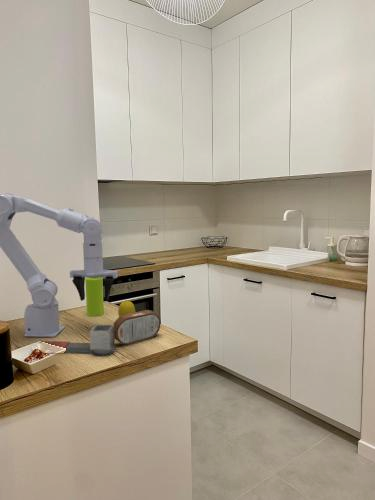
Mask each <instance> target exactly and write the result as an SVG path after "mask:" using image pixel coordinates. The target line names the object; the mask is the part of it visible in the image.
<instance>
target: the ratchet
mask: <svg viewBox="0 0 375 500" xmlns="http://www.w3.org/2000/svg"><path fill="white" fill-rule="evenodd" d="M40 342H45V343H48V344H51V345H55V346H59V347H63V348H66V351H65V352H64V353H63V354H69V355H70V354H73V355H75V354H77V355H79V354H81V355H82V354H83V355H93V356H96V357H108V356H110V355H112V354H113V355H114V353H115V352H116V344H115V343H114V344H113V346H112V347H111V349H110V350H91V349H90V342H70V341H62V340H61V341H56V340H53V341H52V340H50V341H49V340H41V341H40Z"/></svg>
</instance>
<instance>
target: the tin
mask: <svg viewBox="0 0 375 500" xmlns="http://www.w3.org/2000/svg"><path fill="white" fill-rule="evenodd" d="M161 324H162V323H161V317H160V316H159V315H158V314H157V313H156V312H154V311H153V310H149V309H145V310H141V311H135V313H130V314H125V315H122V316H120V317H119V316H118V318H117V319H115V321H114V323H113V324H112V325H114V335H115V341H117V342H118V343H120V344H122V345H129V344H130V345H131V344H134V343H137V342H141V341H145V340H149V339H153V338H154V337H155V336H156V335H158V332H159V331H160V328H161Z"/></svg>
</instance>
